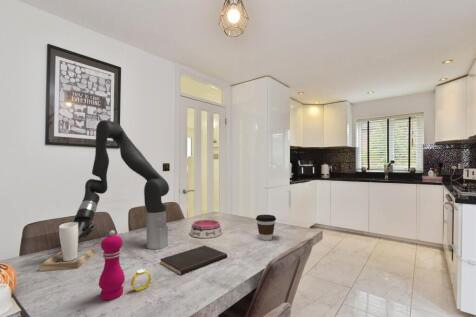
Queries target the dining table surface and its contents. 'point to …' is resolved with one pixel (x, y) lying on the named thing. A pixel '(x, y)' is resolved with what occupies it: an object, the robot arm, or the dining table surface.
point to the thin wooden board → (51, 264)
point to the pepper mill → (111, 268)
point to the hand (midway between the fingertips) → (73, 245)
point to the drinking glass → (69, 240)
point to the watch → (140, 274)
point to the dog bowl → (205, 229)
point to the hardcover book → (193, 259)
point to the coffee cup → (266, 226)
